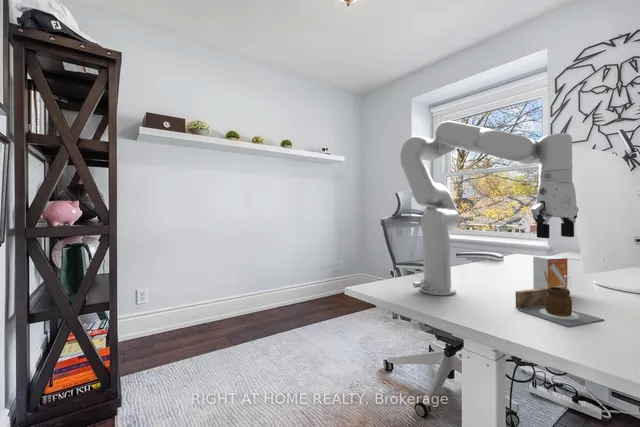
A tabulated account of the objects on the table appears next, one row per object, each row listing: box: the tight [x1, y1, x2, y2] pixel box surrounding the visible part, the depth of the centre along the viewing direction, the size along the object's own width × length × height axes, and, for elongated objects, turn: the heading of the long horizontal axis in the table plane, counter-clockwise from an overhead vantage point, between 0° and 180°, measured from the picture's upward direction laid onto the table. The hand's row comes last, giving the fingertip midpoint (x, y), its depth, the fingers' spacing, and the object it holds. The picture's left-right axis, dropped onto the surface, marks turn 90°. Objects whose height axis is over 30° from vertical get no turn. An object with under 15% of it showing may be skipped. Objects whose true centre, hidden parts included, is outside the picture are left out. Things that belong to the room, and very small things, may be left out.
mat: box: [517, 305, 605, 328], centre depth 86 cm, size 14×14×1 cm
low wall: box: [515, 286, 566, 309], centre depth 95 cm, size 20×2×5 cm, turn 107°
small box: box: [532, 255, 568, 289], centre depth 108 cm, size 8×6×13 cm
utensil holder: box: [544, 271, 573, 316], centre depth 86 cm, size 6×6×12 cm
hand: (555, 237), depth 86 cm, fingers open, 9 cm apart
